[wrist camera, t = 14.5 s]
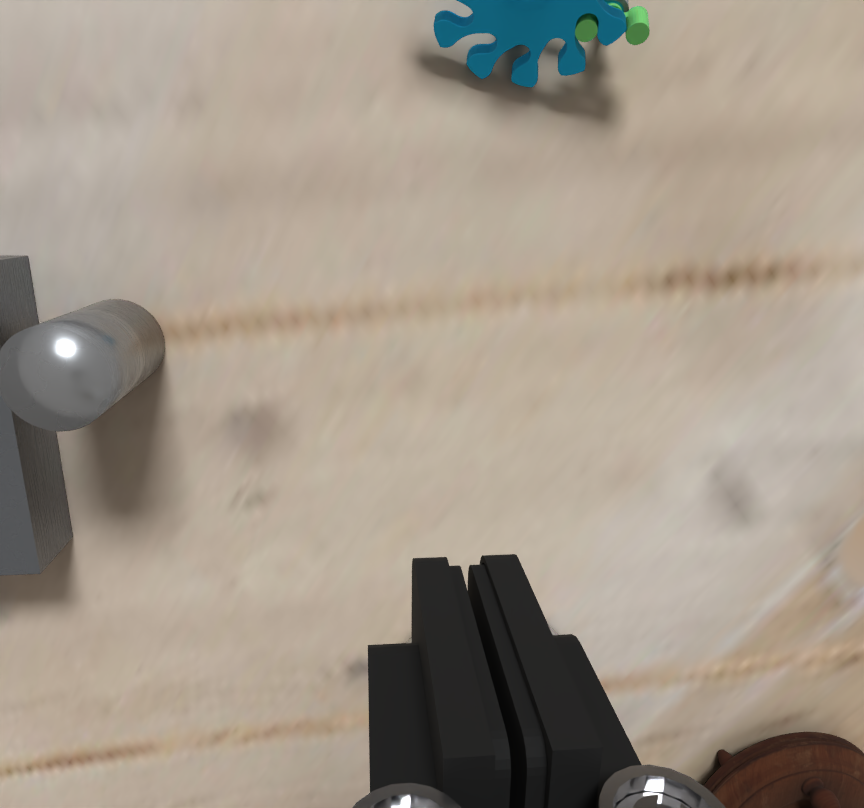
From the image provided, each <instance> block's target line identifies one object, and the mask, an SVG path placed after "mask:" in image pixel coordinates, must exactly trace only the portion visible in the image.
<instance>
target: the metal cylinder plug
mask: <svg viewBox="0 0 864 808" xmlns="http://www.w3.org/2000/svg"><path fill="white" fill-rule="evenodd" d="M164 351H165V341H164V335H163V332H162V330H161V327H160V325H159V324H158V322H157V321H156V319H155V318H154V317H153V316H152V315H151V314H150V313H149V312H148V311H147V310H145V309H144V308H143V307H141V306H139V305H137V304H135V303H133V302H130V301H126V300H121V299H109V300H104V301H101V302H98V303H95V304H92V305H90V306H87V307H84V308H81V309H79V310H76V311H73V312H70V313H68V314H65V315H62V316H60V317H57V318H54V319H51V320H49V321H46V322H43V323H40V324H38V325H35V326H32V327H29V328H27V329H24V330H22V331H20V332H18V333H16V334H15V335H13V336H12V337H11V338H10V339H8V340H7V341H6V343H5V344H4V345H3V346H2V348H1V350H0V395H1V396H2V398H3V400H4V401H5V403H6V404H7V406H8V407H9V408H10V409H11V410H12V411H13V412H14V413H15V414H16V415H17V416H19V417H20V418H21V419H23V420H24V421H26V422H28V423H30V424H31V425H34V426H36V427H39V428H42V429H46V430H51V431H70V430H75V429H78V428H82V427H84V426H86V425H88V424H90V423H91V422H93V421H94V420H95V419H97V418H98V417H99V416H100V415H102V414H103V413H104V412H105V411H107V410H108V409H109V408H110V407H112V406H113V405H114V404H115V403H116V402H118V401H119V400H120V399H121V398H123V397H124V396H125V395H126V394H128V393H129V392H130V391H131V390H133V389H134V388H135V387H136V386H138V385H139V384H140V383H141V382H143V381H144V380H145V379H146V378H148V377H149V376H150V375H151V374H152V373H153V372H155V370H156V369H157V368H158V367H159V365H160V363H161V361H162V359H163V356H164Z"/></svg>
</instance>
